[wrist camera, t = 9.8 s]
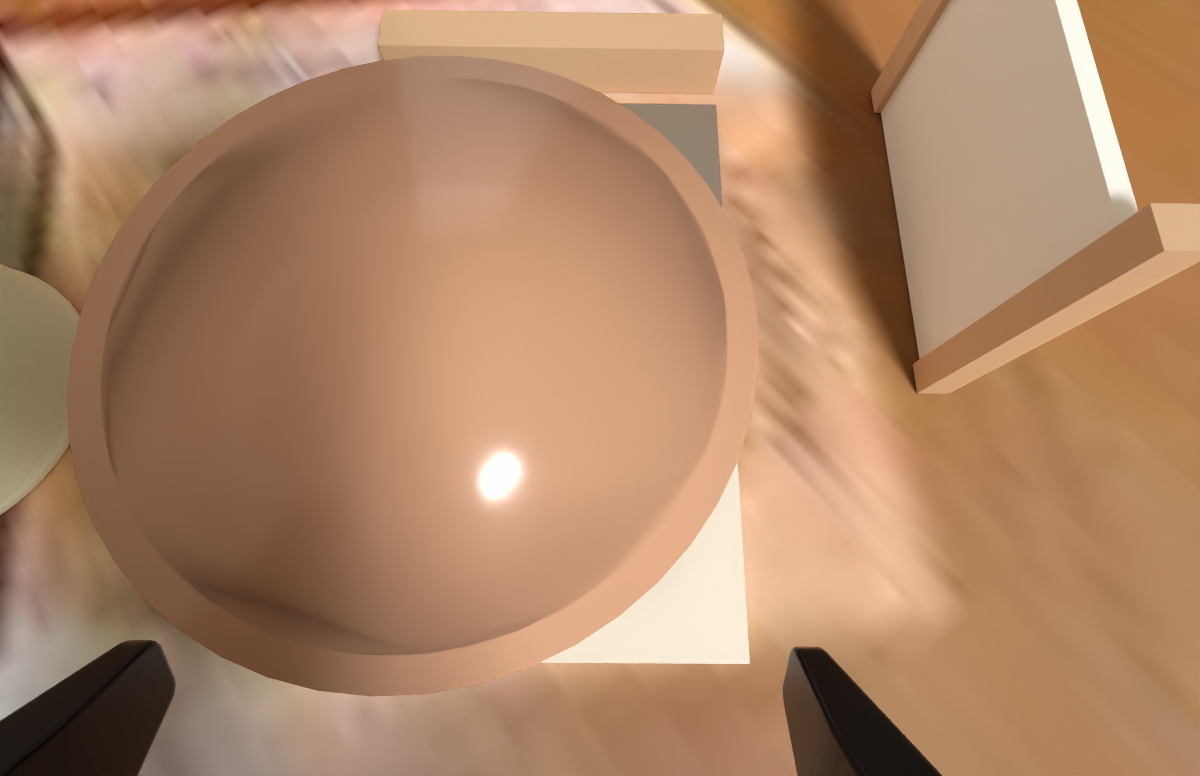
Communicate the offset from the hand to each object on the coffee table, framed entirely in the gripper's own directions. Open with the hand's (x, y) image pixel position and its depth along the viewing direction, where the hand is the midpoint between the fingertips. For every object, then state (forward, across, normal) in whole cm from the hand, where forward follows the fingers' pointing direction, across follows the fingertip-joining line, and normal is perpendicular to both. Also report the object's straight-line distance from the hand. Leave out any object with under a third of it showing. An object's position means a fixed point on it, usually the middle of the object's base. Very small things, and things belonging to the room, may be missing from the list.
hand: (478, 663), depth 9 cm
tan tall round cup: (+9, 0, +4) cm, 10 cm away
